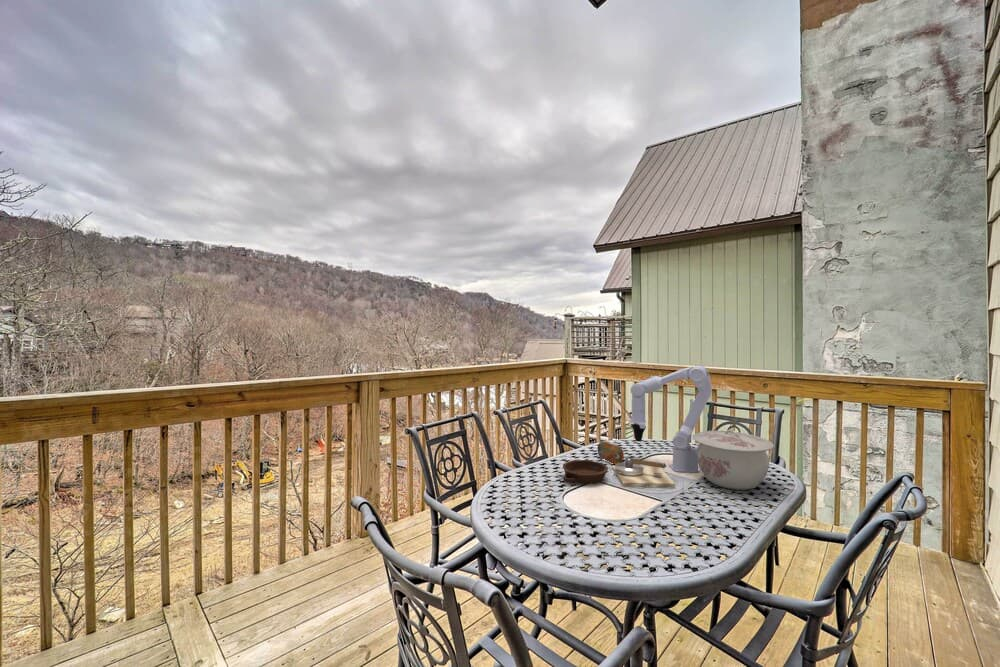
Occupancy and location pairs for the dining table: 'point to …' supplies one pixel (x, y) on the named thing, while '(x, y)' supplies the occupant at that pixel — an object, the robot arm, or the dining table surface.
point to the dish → (584, 472)
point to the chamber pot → (733, 458)
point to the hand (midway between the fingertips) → (638, 440)
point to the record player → (646, 478)
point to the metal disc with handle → (635, 466)
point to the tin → (610, 452)
